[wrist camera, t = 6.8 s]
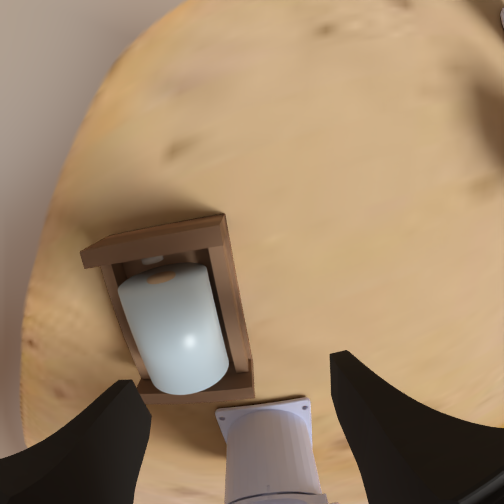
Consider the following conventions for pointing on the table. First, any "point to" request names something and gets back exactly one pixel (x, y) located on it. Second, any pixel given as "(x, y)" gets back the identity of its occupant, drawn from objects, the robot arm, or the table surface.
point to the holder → (222, 285)
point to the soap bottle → (502, 16)
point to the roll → (176, 327)
